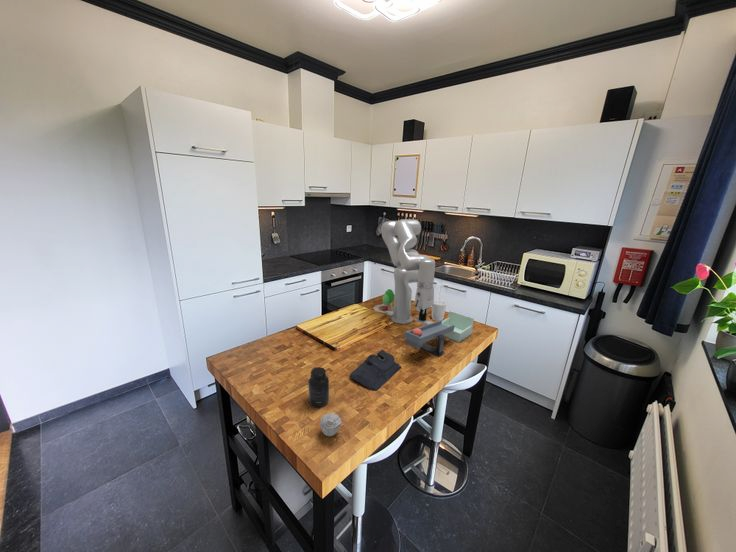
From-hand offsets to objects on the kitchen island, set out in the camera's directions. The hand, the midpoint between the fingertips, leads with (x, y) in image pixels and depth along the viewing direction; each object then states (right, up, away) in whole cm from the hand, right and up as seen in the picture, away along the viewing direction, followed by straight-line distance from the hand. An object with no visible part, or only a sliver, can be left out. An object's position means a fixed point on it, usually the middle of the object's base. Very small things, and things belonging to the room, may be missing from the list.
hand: (422, 319), depth 141 cm
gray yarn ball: (-38, -26, -55) cm, 72 cm away
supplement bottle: (-44, -22, -42) cm, 64 cm away
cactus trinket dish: (-16, +1, +39) cm, 43 cm away
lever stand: (+2, -13, -7) cm, 15 cm away
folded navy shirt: (-24, -18, -24) cm, 38 cm away
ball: (-6, -3, -18) cm, 19 cm away
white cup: (+14, -4, +27) cm, 30 cm away
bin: (+18, -9, +9) cm, 22 cm away
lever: (-1, -6, -6) cm, 9 cm away
